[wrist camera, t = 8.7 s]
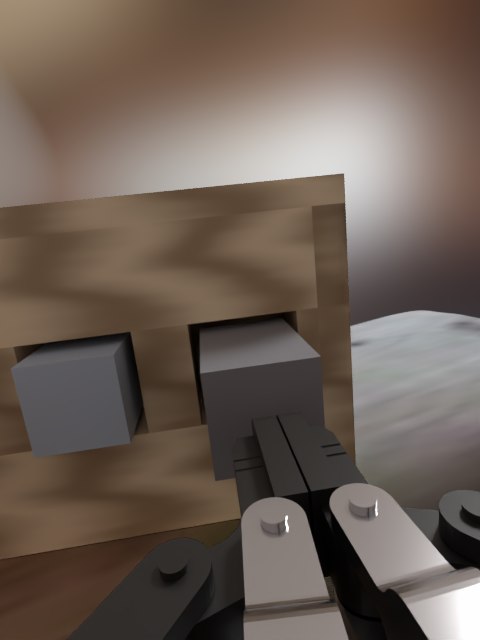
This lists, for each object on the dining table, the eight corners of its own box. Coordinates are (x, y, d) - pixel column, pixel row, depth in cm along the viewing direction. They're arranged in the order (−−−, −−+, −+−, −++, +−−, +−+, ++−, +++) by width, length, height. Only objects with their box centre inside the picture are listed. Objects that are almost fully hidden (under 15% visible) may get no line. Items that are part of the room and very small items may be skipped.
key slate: (148, 387, 22) (137, 321, 21) (130, 443, 16) (113, 354, 15) (78, 397, 22) (63, 330, 21) (34, 457, 16) (10, 368, 15)
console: (308, 417, 29) (292, 195, 25) (356, 498, 20) (343, 173, 16) (-37, 470, 27) (-110, 236, 23) (-151, 585, 18) (-301, 237, 14)
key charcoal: (288, 393, 19) (281, 317, 18) (327, 463, 13) (320, 356, 12) (210, 405, 19) (199, 328, 18) (215, 481, 13) (200, 373, 12)
